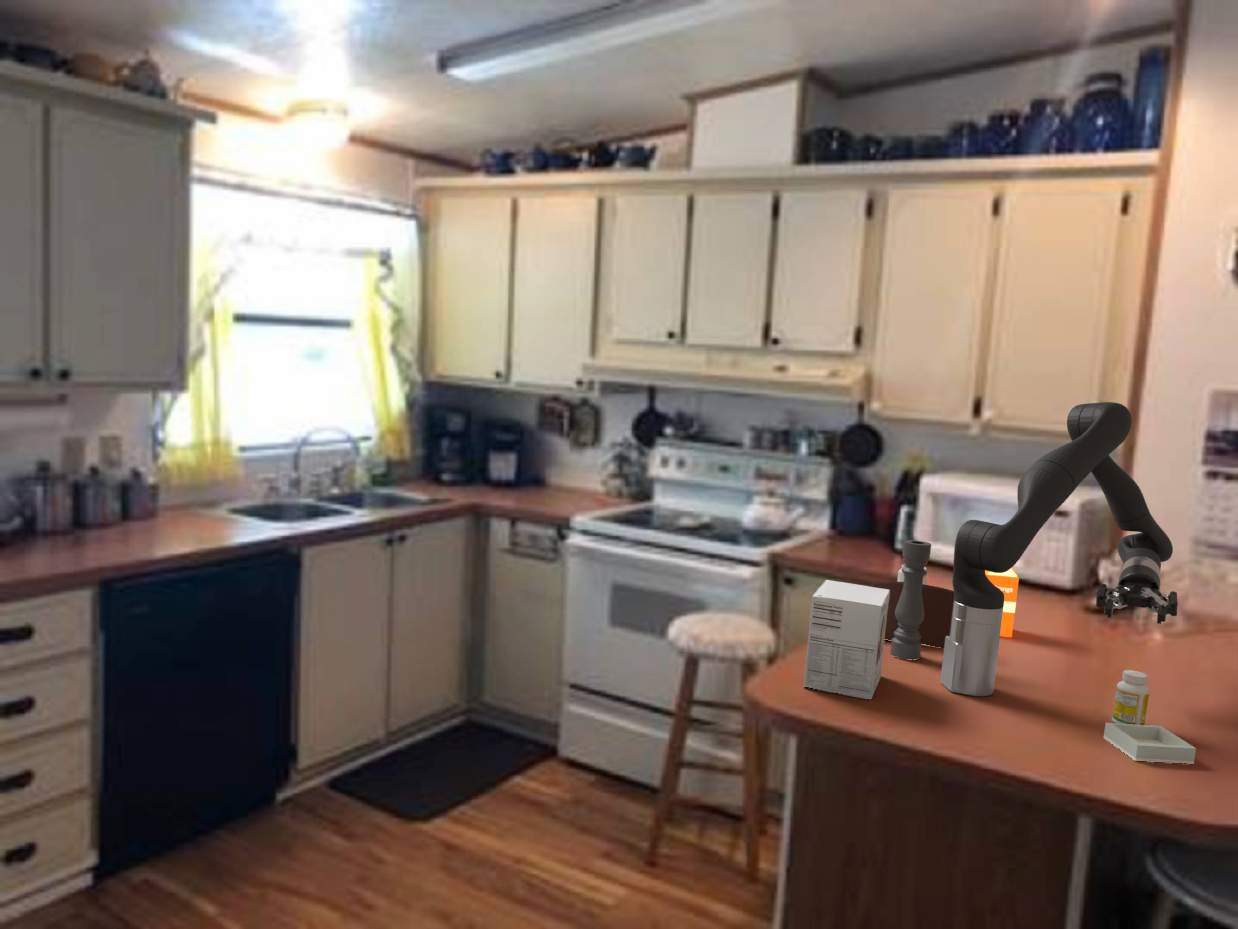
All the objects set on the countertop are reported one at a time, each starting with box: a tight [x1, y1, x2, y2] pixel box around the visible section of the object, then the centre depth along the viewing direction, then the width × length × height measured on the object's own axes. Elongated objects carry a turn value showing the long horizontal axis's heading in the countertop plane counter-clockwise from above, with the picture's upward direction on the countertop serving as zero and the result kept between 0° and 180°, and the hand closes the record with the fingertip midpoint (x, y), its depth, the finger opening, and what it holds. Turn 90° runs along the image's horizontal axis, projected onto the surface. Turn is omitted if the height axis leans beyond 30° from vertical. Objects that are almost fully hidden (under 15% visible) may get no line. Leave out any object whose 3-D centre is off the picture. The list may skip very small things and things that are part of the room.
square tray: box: [1103, 722, 1197, 765], centre depth 171 cm, size 10×10×3 cm
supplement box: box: [803, 579, 890, 701], centre depth 196 cm, size 17×13×18 cm
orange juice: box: [985, 566, 1020, 638], centre depth 244 cm, size 8×9×20 cm
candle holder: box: [889, 539, 932, 660], centre depth 216 cm, size 6×6×25 cm
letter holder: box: [870, 581, 954, 649], centre depth 231 cm, size 10×20×14 cm, turn 75°
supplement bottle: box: [1112, 669, 1150, 725], centre depth 184 cm, size 5×5×10 cm
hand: (1134, 616), depth 194 cm, fingers open, 8 cm apart
